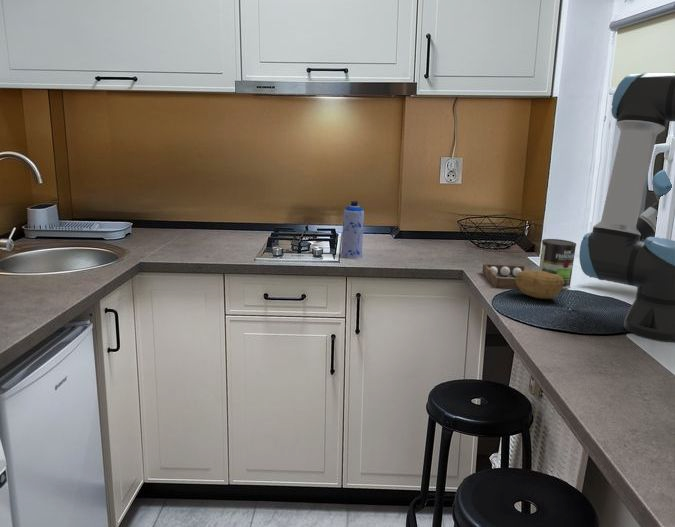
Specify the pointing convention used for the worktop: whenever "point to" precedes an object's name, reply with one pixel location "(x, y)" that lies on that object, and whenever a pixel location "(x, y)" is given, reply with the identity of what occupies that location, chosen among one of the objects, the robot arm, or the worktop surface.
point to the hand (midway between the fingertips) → (587, 274)
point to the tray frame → (501, 281)
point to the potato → (539, 284)
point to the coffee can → (558, 258)
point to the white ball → (516, 271)
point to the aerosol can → (352, 231)
